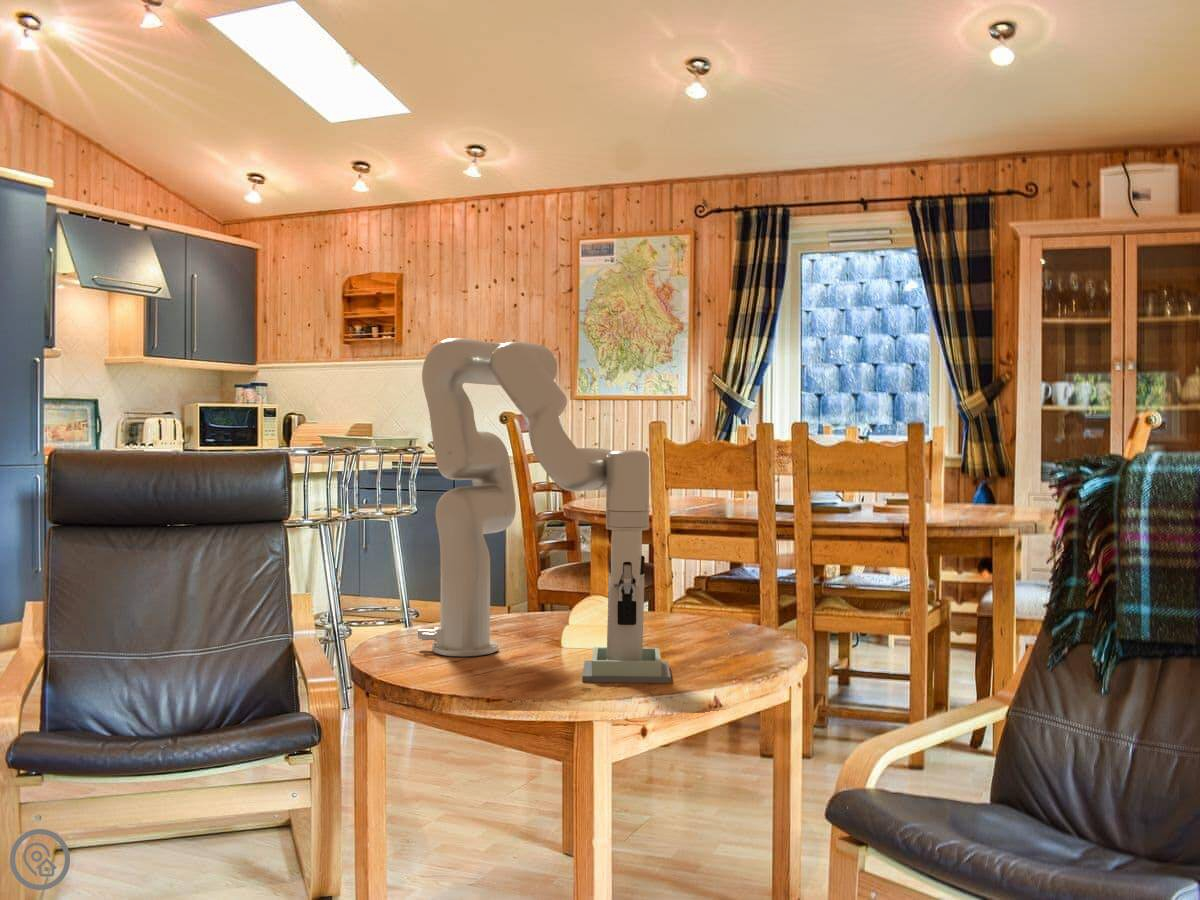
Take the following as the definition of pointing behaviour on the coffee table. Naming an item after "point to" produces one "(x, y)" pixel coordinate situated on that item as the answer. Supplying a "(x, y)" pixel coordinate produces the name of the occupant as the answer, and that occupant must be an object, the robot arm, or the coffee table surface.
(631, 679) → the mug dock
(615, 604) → the travel mug
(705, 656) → the coffee table surface
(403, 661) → the coffee table surface
